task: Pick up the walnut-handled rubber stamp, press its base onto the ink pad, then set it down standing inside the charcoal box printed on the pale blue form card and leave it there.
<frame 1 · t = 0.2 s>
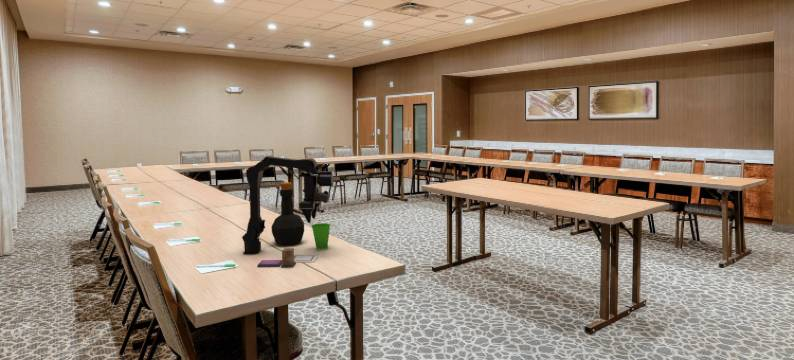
hand: (311, 220, 220), 15 cm above the table, fingers open, 9 cm apart
form: (303, 258, 211), on the table
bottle: (288, 243, 239), on the table
stamp: (288, 265, 201), on the table
cup: (321, 248, 229), on the table
ink pad: (270, 264, 203), on the table
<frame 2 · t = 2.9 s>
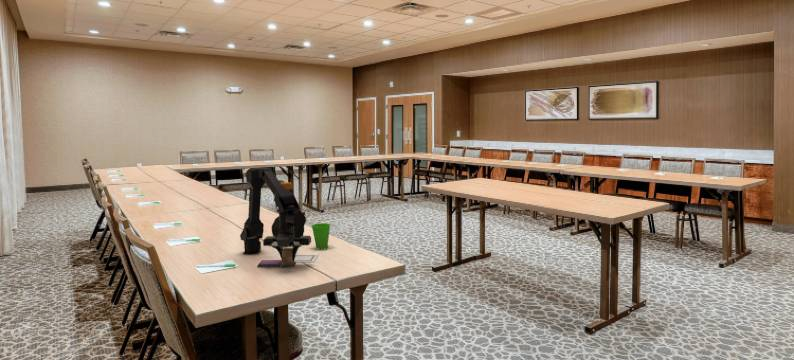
hand: (288, 261, 201), 2 cm above the table, fingers closed on stamp, 4 cm apart
stamp: (288, 265, 201), on the table, touching gripper
everything else where it was.
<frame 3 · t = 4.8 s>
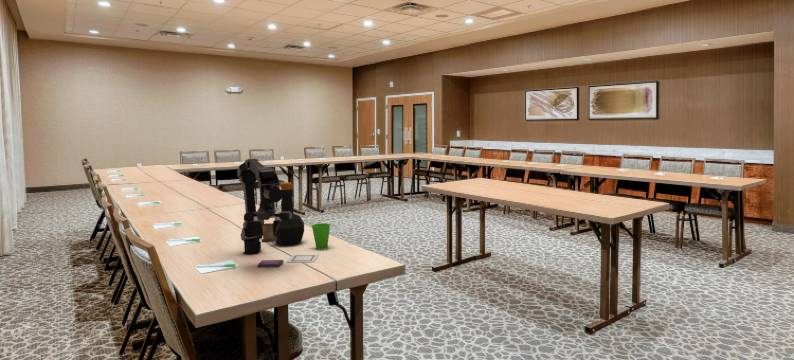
hand: (269, 236, 202), 12 cm above the table, fingers closed on stamp, 4 cm apart
stamp: (269, 240, 202), point 10 cm above the table, touching gripper
everything else where it was.
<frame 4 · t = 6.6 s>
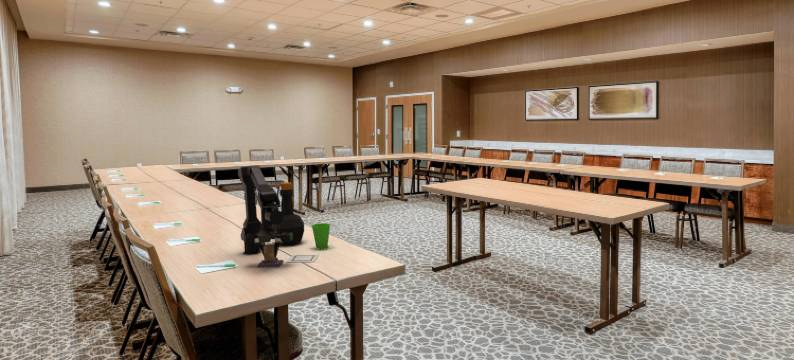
hand: (270, 257, 203), 3 cm above the table, fingers closed on stamp, 4 cm apart
stamp: (270, 261, 203), point 1 cm above the table, touching gripper, ink pad
everything else where it was.
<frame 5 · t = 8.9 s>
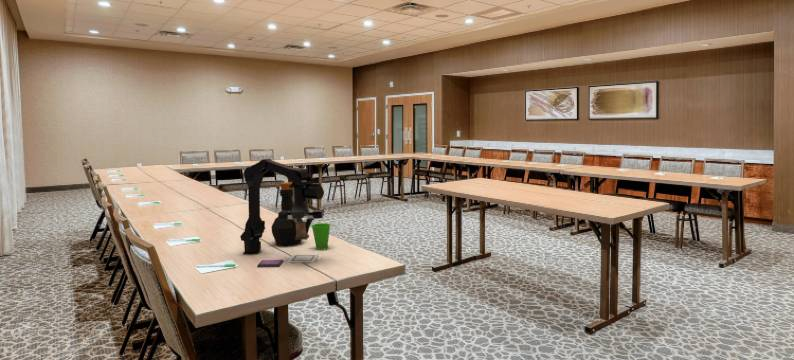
hand: (302, 233, 210), 11 cm above the table, fingers closed on stamp, 4 cm apart
stamp: (302, 238, 210), point 9 cm above the table, touching gripper
everything else where it was.
when the fingers open (3 cm above the table, at t = 10.5 s): stamp stays where it is, resting on form.
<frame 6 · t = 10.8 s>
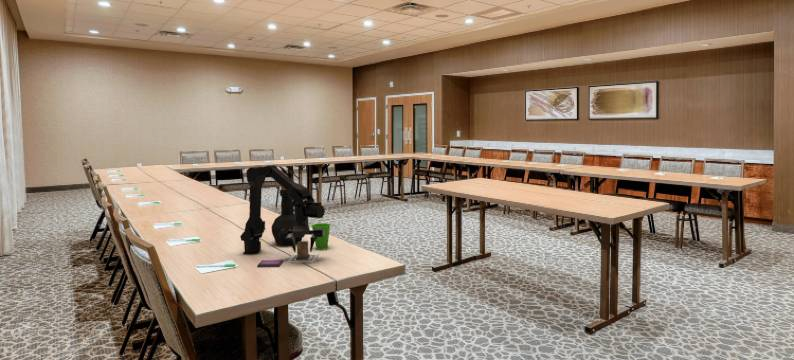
hand: (302, 252, 211), 3 cm above the table, fingers open, 7 cm apart
stamp: (303, 258, 211), resting on form
everything else where it was.
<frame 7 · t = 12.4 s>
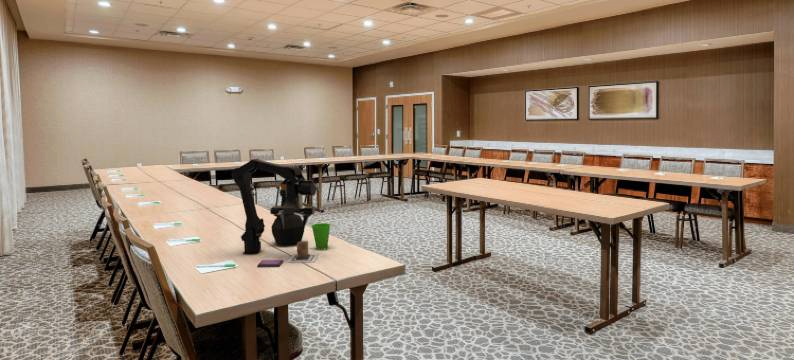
hand: (293, 229, 216), 12 cm above the table, fingers open, 9 cm apart
nothing on the table moved.
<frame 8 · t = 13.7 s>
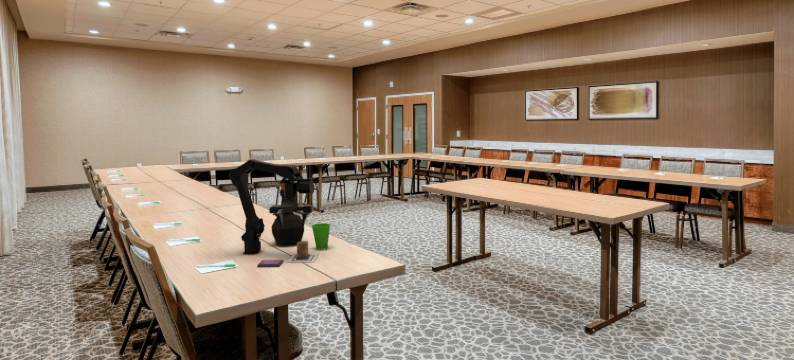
hand: (292, 227, 218), 12 cm above the table, fingers open, 9 cm apart
nothing on the table moved.
at the end: stamp inside the target area on the form (0.1 cm from its centre), point 0.3 cm above the form's base; stamp tilted 0°; the gripper is holding nothing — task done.
